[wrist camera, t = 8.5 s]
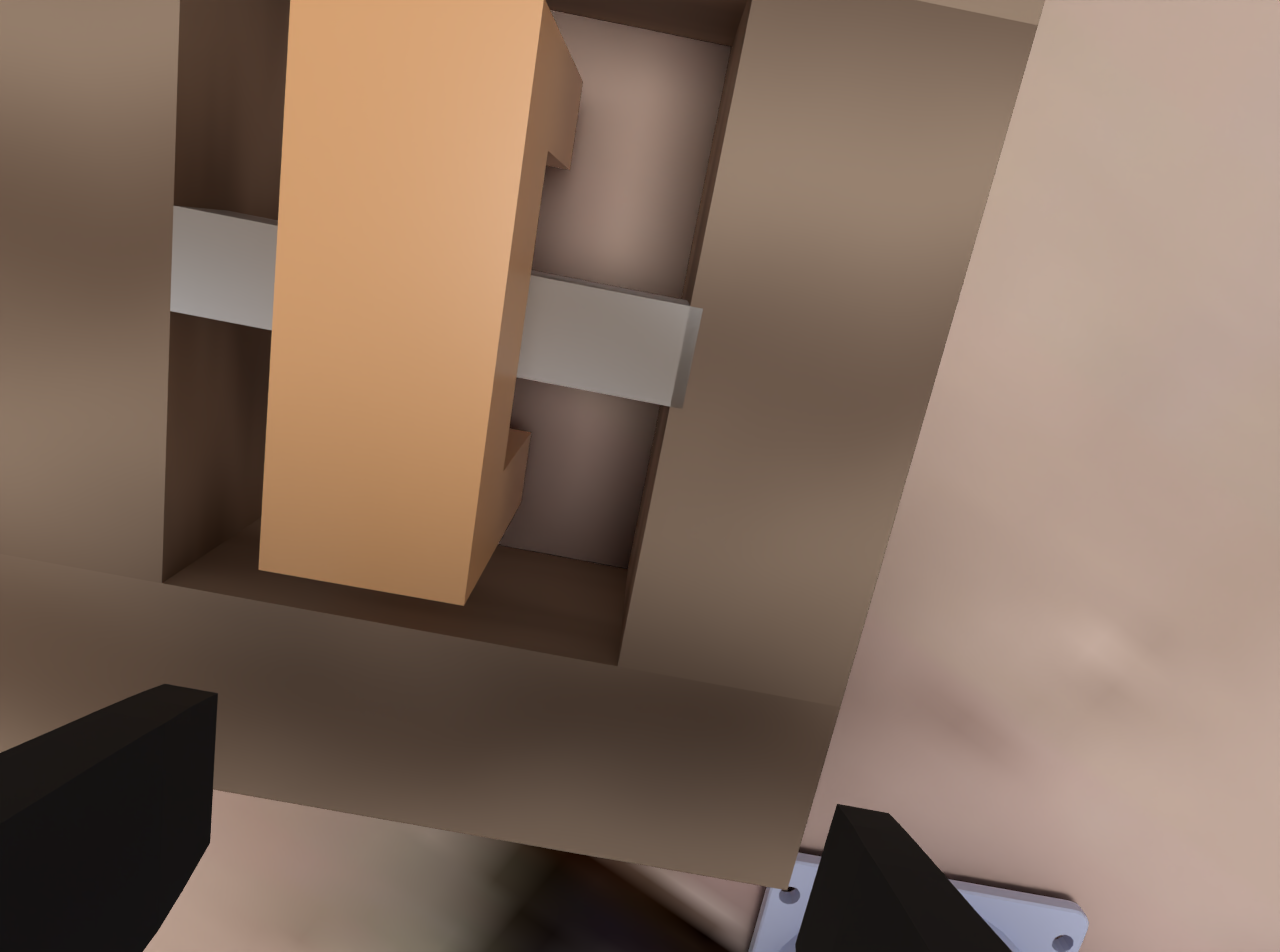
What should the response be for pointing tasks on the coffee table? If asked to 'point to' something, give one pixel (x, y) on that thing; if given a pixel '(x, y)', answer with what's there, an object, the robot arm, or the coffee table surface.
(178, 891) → the robot arm
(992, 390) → the coffee table surface
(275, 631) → the brown piece
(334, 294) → the tan rectangular block
